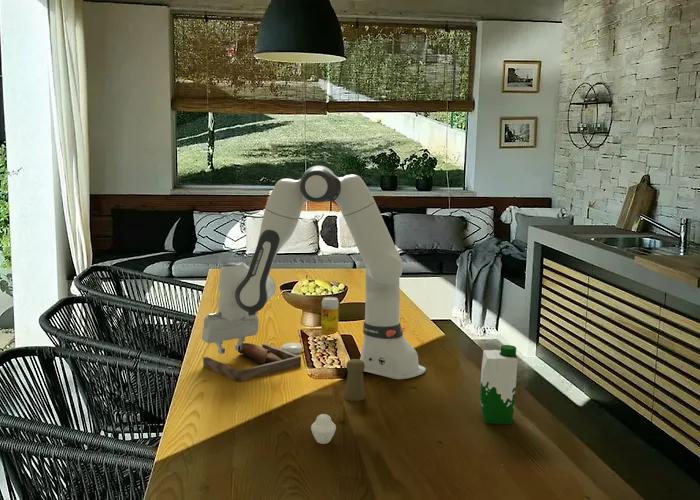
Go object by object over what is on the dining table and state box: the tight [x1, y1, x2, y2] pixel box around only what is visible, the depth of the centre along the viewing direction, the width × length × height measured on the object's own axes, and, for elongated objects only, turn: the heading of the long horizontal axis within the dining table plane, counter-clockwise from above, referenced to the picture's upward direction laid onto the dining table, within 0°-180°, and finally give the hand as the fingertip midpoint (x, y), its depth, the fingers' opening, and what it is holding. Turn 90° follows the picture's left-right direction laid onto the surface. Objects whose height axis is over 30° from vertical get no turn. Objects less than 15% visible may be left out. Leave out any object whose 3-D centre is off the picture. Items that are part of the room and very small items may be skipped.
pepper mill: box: [343, 358, 366, 402], centre depth 214 cm, size 6×6×11 cm
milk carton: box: [479, 344, 519, 425], centre depth 200 cm, size 9×9×20 cm
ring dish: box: [281, 342, 302, 355], centre depth 258 cm, size 8×8×2 cm
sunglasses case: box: [237, 342, 281, 365], centre depth 246 cm, size 18×7×7 cm, turn 38°
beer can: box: [320, 296, 340, 335], centre depth 272 cm, size 6×6×15 cm
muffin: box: [310, 413, 337, 445], centre depth 184 cm, size 6×6×7 cm
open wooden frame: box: [202, 343, 302, 383], centre depth 240 cm, size 19×24×3 cm
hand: (229, 351), depth 247 cm, fingers open, 5 cm apart
